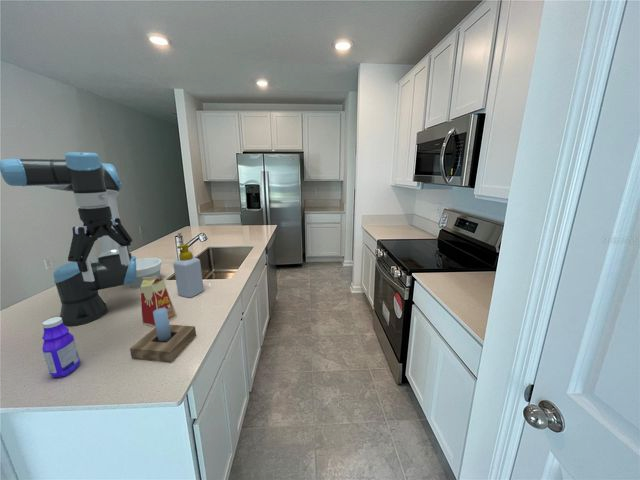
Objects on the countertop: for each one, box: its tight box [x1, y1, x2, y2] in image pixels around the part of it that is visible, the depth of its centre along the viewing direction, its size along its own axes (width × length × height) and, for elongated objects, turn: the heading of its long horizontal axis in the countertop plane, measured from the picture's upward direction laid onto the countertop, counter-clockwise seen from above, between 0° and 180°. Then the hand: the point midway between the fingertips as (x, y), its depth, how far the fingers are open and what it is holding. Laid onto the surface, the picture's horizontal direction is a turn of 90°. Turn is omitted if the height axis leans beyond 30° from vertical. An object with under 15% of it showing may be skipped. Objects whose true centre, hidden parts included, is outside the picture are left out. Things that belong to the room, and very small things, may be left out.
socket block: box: [129, 324, 197, 364], centre depth 92 cm, size 14×14×4 cm
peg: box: [153, 308, 172, 343], centre depth 91 cm, size 4×4×14 cm
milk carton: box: [140, 276, 178, 328], centre depth 106 cm, size 9×9×20 cm
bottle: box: [41, 316, 81, 378], centre depth 79 cm, size 7×6×17 cm
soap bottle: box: [172, 243, 205, 298], centre depth 128 cm, size 9×9×25 cm
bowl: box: [127, 257, 162, 289], centre depth 142 cm, size 19×19×11 cm
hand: (109, 272), depth 85 cm, fingers open, 13 cm apart
